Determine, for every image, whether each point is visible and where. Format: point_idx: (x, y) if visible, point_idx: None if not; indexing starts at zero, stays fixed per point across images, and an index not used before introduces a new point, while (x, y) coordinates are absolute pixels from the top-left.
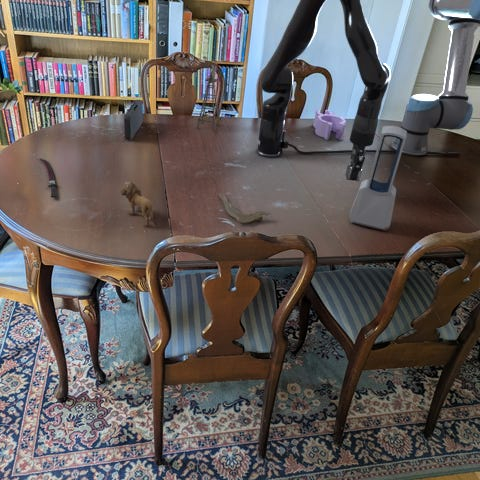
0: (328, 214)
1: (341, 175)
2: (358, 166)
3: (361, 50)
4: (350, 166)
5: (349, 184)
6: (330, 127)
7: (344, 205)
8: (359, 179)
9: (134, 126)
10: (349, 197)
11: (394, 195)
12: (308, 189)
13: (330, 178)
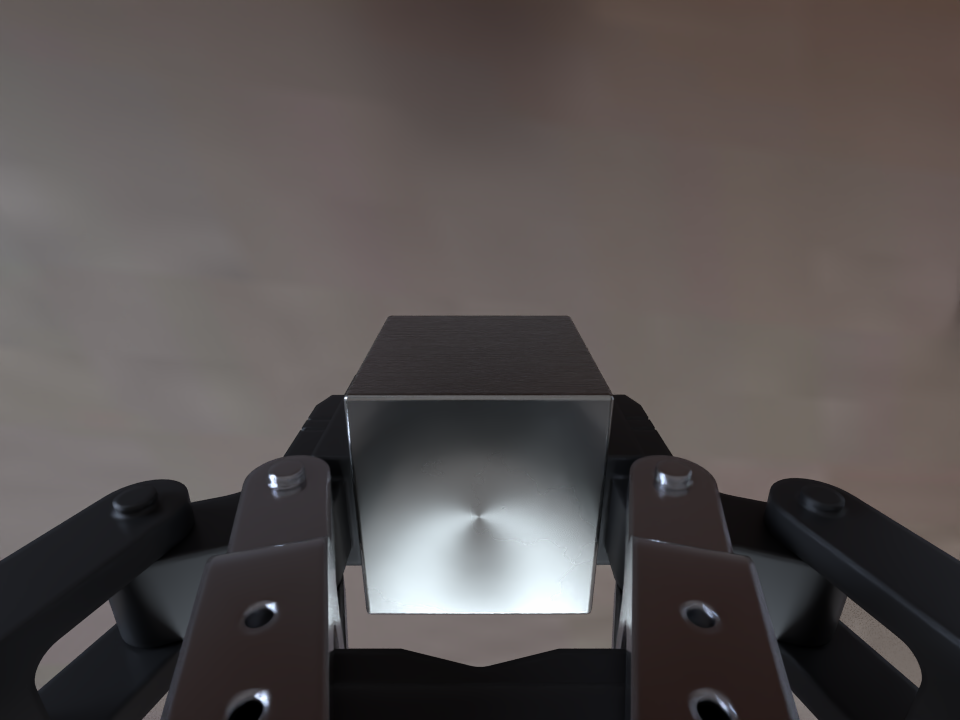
0: (937, 519)
1: (82, 374)
2: (427, 450)
3: None
4: (489, 589)
5: (275, 307)
6: None
7: (771, 389)
8: (576, 330)
9: None
10: (592, 331)
11: None
12: (523, 636)
13: (221, 479)
